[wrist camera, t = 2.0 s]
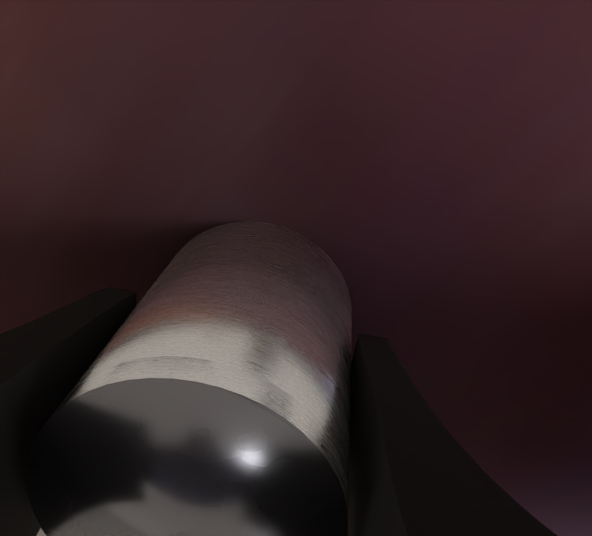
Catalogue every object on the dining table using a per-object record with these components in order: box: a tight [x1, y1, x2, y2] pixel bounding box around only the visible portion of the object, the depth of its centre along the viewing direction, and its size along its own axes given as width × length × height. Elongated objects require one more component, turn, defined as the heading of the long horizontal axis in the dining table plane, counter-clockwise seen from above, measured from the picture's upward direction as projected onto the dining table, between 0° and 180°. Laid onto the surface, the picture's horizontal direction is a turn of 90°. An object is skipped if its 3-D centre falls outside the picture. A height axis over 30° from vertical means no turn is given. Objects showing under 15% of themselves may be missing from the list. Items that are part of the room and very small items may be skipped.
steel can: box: [26, 221, 352, 536], centre depth 11 cm, size 5×5×6 cm
